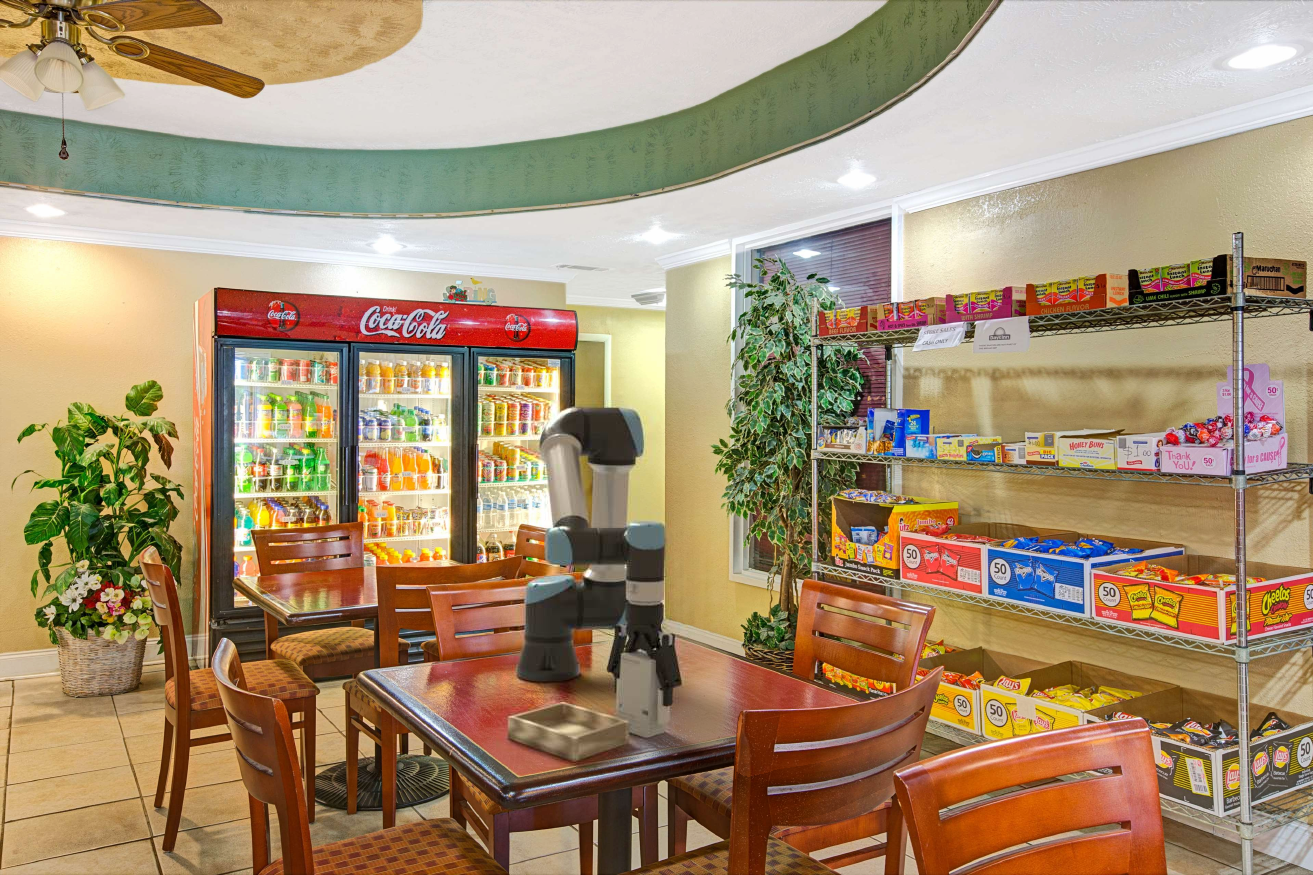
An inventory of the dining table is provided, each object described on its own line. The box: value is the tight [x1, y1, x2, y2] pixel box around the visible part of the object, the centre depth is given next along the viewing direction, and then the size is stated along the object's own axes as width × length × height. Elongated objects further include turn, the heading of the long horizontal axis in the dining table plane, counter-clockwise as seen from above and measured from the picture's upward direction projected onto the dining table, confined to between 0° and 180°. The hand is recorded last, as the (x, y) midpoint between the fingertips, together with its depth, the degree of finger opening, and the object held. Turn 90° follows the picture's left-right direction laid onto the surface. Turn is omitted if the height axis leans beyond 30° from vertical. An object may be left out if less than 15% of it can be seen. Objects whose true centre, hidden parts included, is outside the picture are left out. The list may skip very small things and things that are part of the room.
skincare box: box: [616, 649, 667, 739], centre depth 173 cm, size 8×6×15 cm
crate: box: [507, 701, 630, 763], centre depth 166 cm, size 18×14×4 cm
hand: (642, 716), depth 173 cm, fingers open, 10 cm apart
